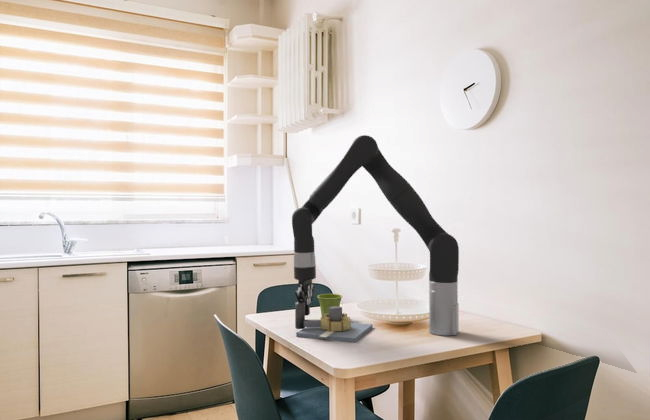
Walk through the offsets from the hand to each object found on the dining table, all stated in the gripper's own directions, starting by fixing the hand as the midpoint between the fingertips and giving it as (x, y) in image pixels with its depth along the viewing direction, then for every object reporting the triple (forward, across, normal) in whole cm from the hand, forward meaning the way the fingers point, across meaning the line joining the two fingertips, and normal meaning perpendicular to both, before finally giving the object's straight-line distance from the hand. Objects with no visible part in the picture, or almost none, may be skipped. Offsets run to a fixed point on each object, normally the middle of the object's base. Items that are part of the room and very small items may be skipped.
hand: (306, 314), depth 169 cm
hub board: (+5, -1, -11) cm, 12 cm away
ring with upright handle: (+3, -2, -7) cm, 8 cm away
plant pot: (+5, +17, -2) cm, 18 cm away
